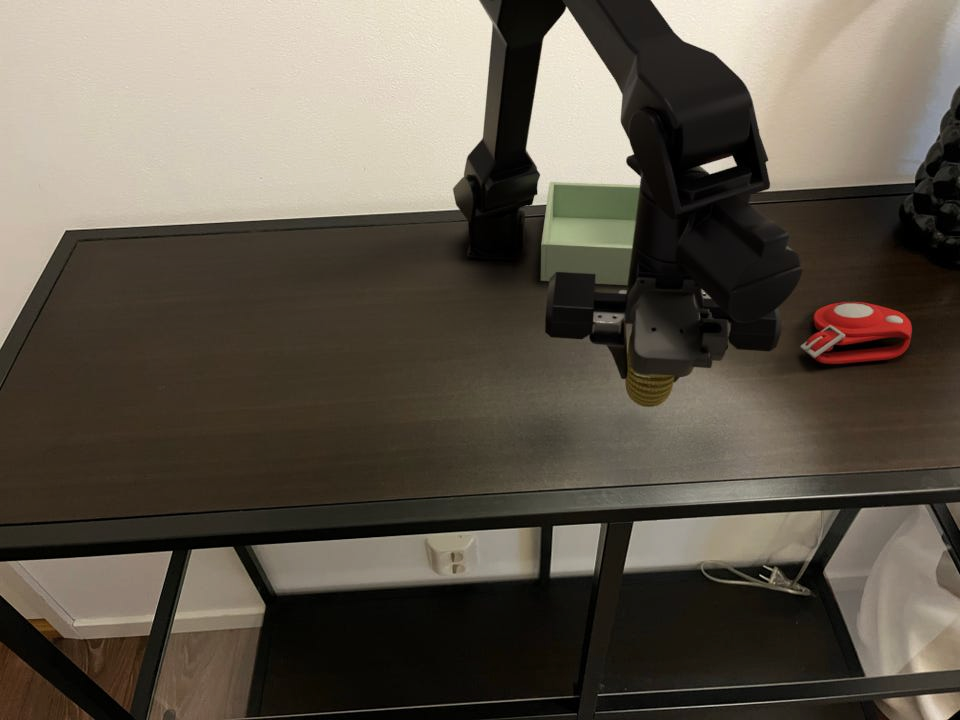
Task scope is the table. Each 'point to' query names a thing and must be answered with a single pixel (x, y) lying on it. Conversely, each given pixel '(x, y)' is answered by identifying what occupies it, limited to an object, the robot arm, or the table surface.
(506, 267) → the table surface
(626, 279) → the bin
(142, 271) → the table surface
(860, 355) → the tracker holder
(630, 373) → the sculpture
